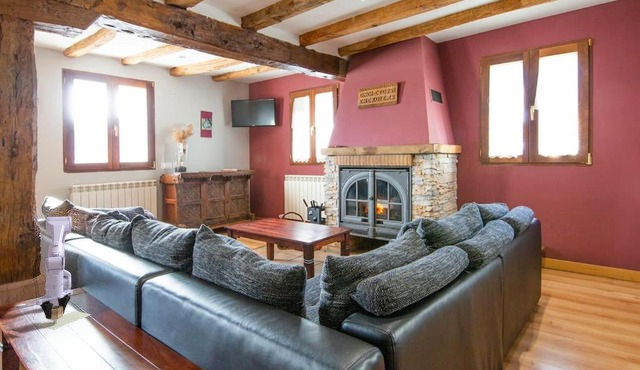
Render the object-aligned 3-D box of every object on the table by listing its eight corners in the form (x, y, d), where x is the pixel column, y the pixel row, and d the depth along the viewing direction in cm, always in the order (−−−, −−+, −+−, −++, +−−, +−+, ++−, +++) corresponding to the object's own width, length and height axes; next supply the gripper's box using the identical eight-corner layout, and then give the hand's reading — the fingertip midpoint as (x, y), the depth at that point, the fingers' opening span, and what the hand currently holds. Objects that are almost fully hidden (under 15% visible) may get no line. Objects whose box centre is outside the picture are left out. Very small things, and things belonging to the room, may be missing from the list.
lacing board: (37, 327, 161) (37, 313, 161) (74, 313, 177) (75, 300, 177) (54, 332, 158) (54, 317, 158) (91, 317, 174) (91, 304, 174)
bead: (44, 318, 161) (44, 309, 161) (56, 313, 166) (56, 304, 166) (53, 320, 160) (53, 311, 160) (65, 315, 165) (65, 306, 164)
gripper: (44, 291, 154) (44, 324, 155) (78, 281, 168) (77, 311, 169) (32, 288, 156) (32, 321, 157) (66, 278, 170) (66, 308, 171)
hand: (55, 315), depth 163 cm, fingers closed on bead, 5 cm apart
